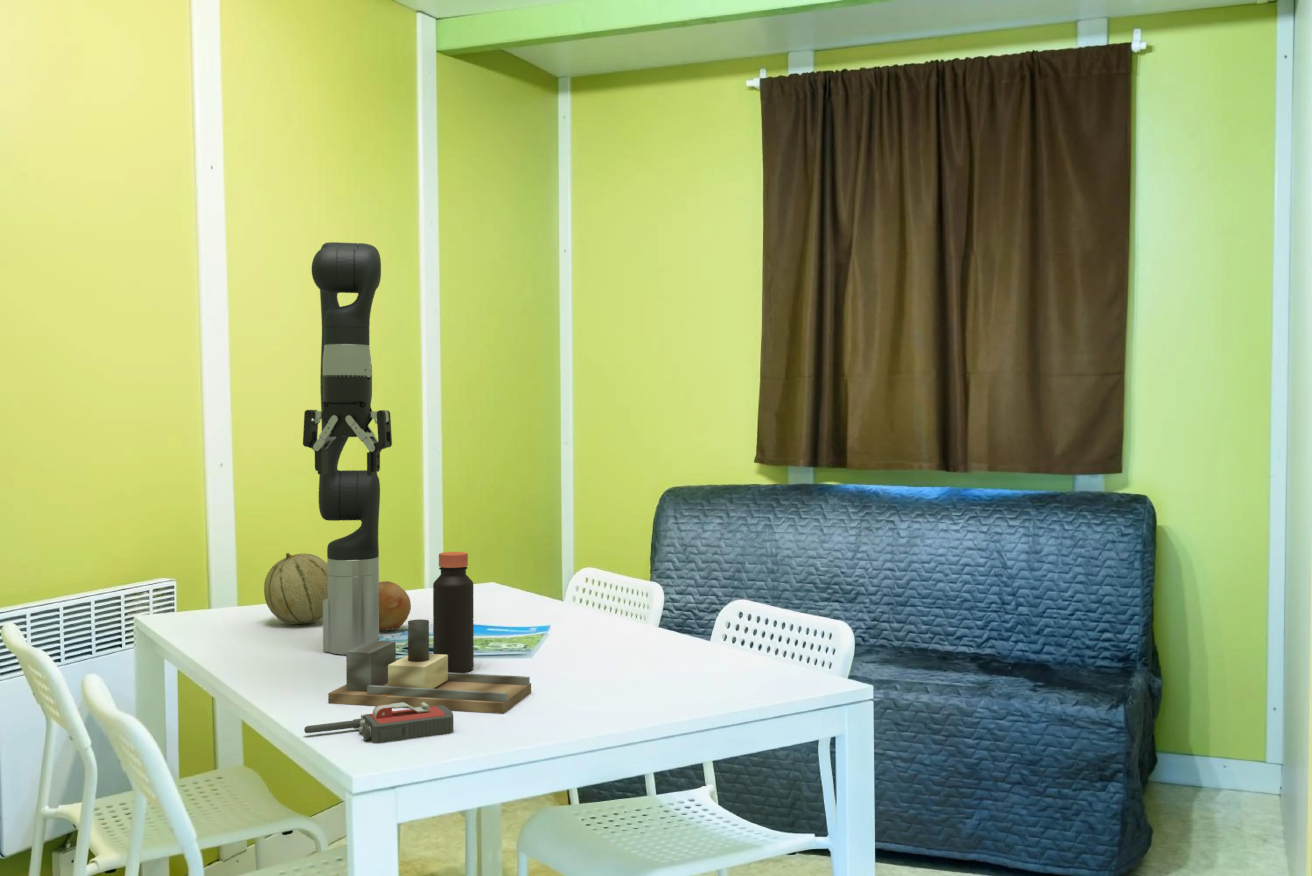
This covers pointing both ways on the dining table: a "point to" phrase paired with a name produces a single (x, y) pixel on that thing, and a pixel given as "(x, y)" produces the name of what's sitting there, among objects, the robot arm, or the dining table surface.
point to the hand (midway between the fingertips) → (347, 474)
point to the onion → (392, 606)
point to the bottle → (454, 612)
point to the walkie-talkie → (396, 723)
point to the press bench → (455, 693)
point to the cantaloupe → (297, 588)
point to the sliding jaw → (418, 661)
